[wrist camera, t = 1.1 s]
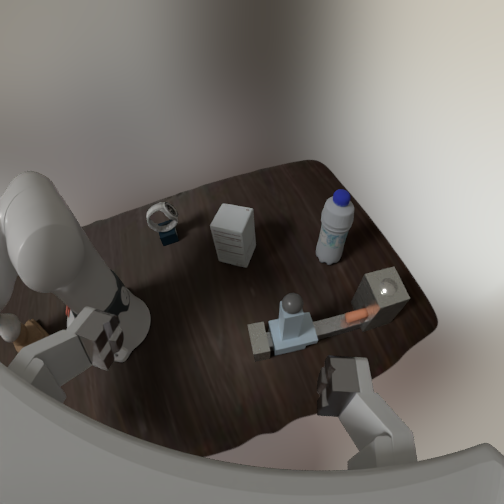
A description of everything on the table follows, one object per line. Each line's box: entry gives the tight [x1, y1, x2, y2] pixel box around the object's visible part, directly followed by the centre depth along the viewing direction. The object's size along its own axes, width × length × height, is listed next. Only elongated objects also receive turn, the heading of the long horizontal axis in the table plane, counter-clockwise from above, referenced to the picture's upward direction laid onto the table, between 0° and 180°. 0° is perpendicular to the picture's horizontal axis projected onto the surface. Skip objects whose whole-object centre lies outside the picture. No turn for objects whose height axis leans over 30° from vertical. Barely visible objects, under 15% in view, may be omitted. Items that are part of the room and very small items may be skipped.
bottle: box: [316, 189, 354, 265], centre depth 58 cm, size 7×7×20 cm
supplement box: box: [210, 204, 256, 268], centre depth 63 cm, size 7×7×13 cm
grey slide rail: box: [248, 267, 410, 362], centre depth 50 cm, size 30×8×11 cm, turn 101°
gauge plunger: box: [345, 308, 369, 323], centre depth 51 cm, size 7×2×2 cm, turn 101°
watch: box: [147, 202, 179, 246], centre depth 68 cm, size 6×8×11 cm
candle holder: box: [0, 313, 50, 353], centre depth 43 cm, size 11×11×24 cm
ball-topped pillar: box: [269, 293, 318, 355], centre depth 46 cm, size 8×6×17 cm
